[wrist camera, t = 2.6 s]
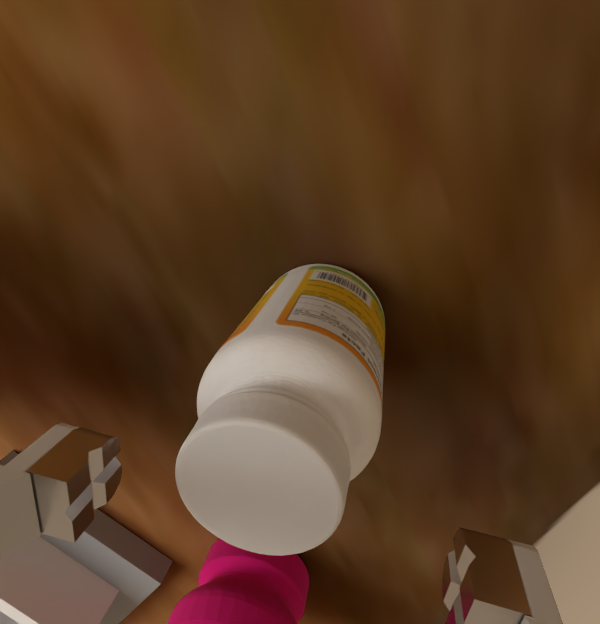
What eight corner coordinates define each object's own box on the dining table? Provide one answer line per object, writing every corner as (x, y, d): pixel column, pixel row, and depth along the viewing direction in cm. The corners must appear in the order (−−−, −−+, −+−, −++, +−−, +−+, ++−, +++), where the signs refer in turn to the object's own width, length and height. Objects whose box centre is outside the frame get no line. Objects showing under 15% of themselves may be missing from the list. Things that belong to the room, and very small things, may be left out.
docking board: (-46, 559, 32) (-118, 629, 28) (13, 449, 26) (-69, 517, 21) (85, 645, 33) (36, 726, 29) (172, 561, 27) (127, 648, 22)
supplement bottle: (284, 384, 20) (197, 581, 11) (245, 277, 18) (106, 412, 9) (399, 364, 18) (403, 577, 9) (368, 246, 17) (337, 372, 8)
